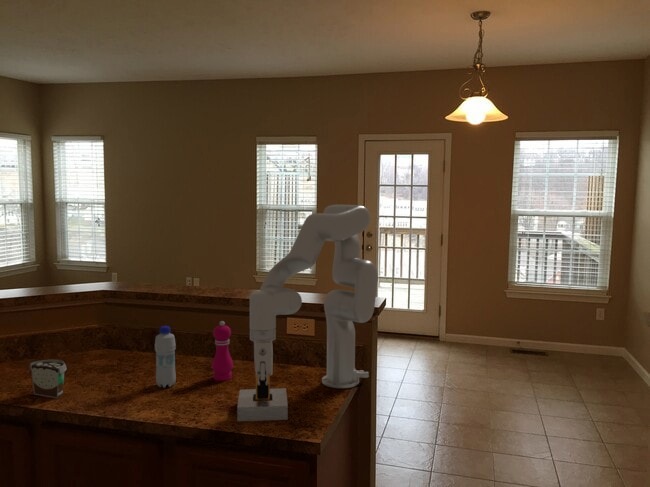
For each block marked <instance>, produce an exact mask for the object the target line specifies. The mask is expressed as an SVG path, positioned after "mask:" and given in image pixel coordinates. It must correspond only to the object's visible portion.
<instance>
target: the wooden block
mask: <svg viewBox="0 0 650 487" xmlns="http://www.w3.org/2000/svg"><path fill="white" fill-rule="evenodd" d="M259 374H261V373H259ZM265 374H266V372H265ZM260 378H261V377H260ZM265 378H266V377H265ZM270 380H271V378H270V375H268V398H267V399H258V398H257V385H258V376H257V375H256V374H255V389H256V401H270V389H271V388H270V387H271V384H270V383H271V381H270Z"/></svg>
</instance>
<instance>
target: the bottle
mask: <svg viewBox="0 0 650 487" xmlns="http://www.w3.org/2000/svg"><path fill="white" fill-rule="evenodd" d="M175 350H176V338H175V335H174V334H173V333H171V327H170V326H168V325H162V326H161V327H160V328H159V334H157V335H156V336H155V340H154V351H155V366H156V367H155V369H156V370H155V382H156V385H157V386H158V387H159V388H163V389H164V388H165V389H166V387H167V385H168V387H169V388H171V387H172V386H174V385H175V384H176V377H177V375H176V358H175V357H176V355H175V354H176V353H175Z"/></svg>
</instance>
